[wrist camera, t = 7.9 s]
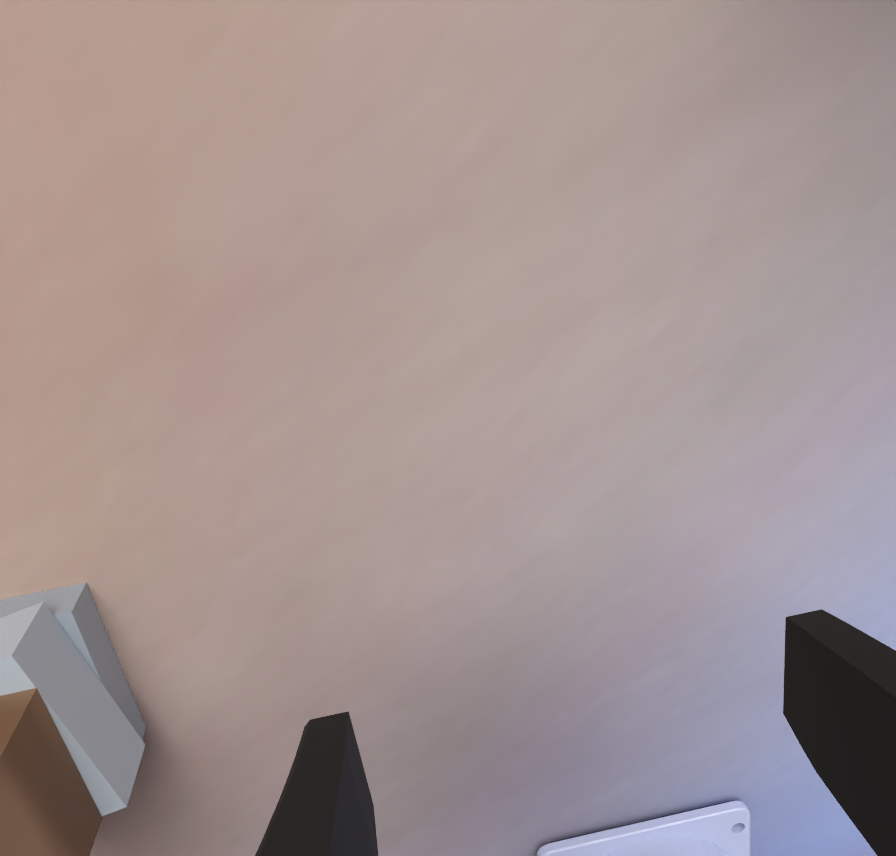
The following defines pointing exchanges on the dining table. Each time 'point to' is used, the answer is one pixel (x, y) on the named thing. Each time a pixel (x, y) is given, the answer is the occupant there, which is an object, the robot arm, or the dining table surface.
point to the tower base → (85, 640)
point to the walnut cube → (40, 785)
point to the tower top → (72, 703)
